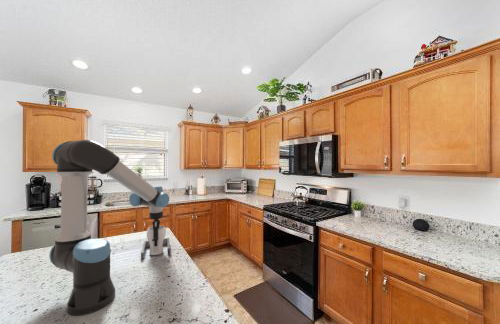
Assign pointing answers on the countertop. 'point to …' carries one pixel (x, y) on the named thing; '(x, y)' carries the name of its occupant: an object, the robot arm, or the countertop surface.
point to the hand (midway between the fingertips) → (156, 247)
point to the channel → (147, 244)
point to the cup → (160, 239)
